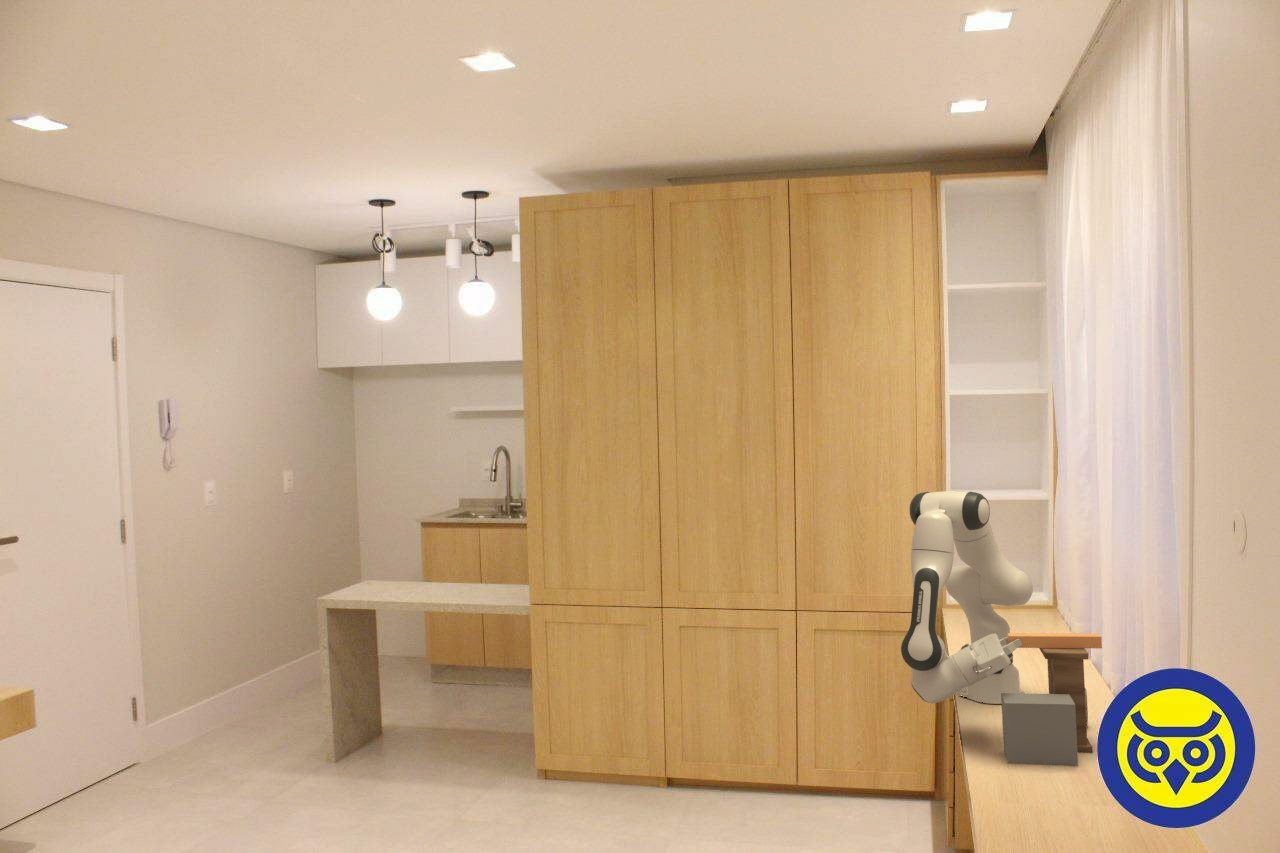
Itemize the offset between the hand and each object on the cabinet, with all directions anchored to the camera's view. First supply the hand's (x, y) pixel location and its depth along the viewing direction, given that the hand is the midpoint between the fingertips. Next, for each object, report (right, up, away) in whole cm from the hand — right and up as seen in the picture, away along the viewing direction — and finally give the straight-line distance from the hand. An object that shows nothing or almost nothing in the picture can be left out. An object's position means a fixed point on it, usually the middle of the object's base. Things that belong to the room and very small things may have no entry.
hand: (1019, 638), depth 250 cm
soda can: (+18, -26, +10) cm, 33 cm away
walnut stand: (+11, -26, -2) cm, 29 cm away
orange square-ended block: (+8, -2, -2) cm, 8 cm away
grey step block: (+1, -27, -10) cm, 29 cm away
